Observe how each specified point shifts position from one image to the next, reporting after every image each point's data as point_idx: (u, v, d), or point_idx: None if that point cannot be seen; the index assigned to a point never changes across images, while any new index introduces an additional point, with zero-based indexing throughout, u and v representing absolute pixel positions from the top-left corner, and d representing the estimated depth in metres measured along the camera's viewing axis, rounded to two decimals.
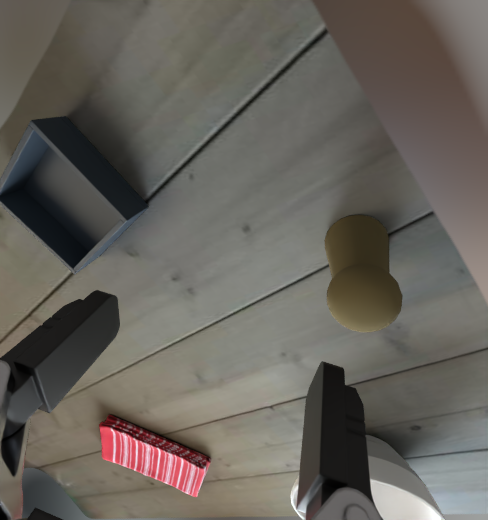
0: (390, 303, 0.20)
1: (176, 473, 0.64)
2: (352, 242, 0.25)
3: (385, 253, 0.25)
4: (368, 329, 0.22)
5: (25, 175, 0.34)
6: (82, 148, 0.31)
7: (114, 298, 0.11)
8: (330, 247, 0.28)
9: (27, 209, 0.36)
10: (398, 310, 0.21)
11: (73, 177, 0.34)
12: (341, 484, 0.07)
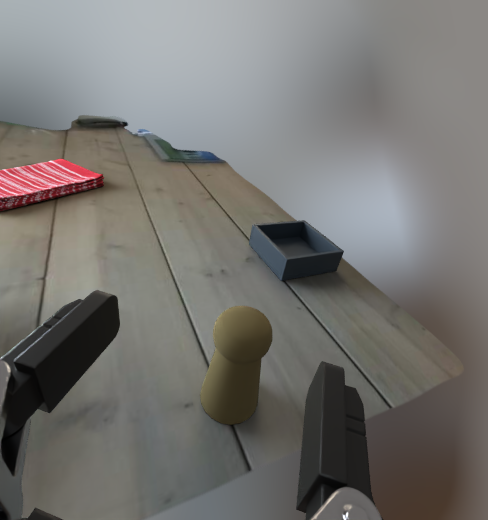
0: (251, 336, 0.24)
1: None
2: None
3: (246, 388, 0.27)
4: (225, 320, 0.25)
5: (309, 239, 0.60)
6: (323, 266, 0.53)
7: (114, 298, 0.11)
8: None
9: (291, 230, 0.61)
10: (240, 343, 0.24)
11: None
12: (342, 484, 0.07)
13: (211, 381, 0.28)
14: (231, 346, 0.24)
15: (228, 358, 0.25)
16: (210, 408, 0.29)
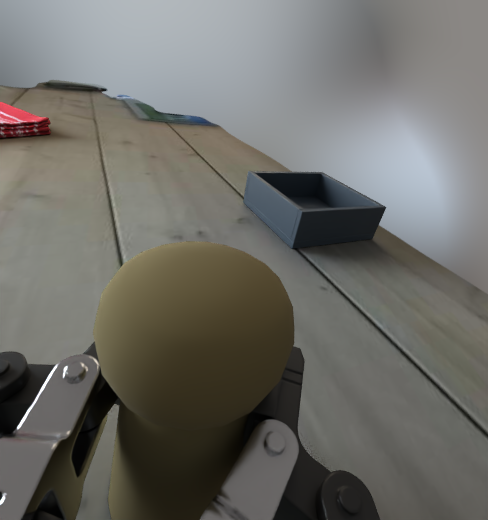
0: (219, 330, 0.06)
1: None
2: None
3: (212, 489, 0.09)
4: (130, 272, 0.07)
5: (329, 197, 0.42)
6: (354, 229, 0.35)
7: None
8: None
9: (304, 184, 0.43)
10: (171, 356, 0.06)
11: None
12: (270, 419, 0.08)
13: (117, 459, 0.10)
14: (135, 369, 0.06)
15: (136, 411, 0.07)
16: None
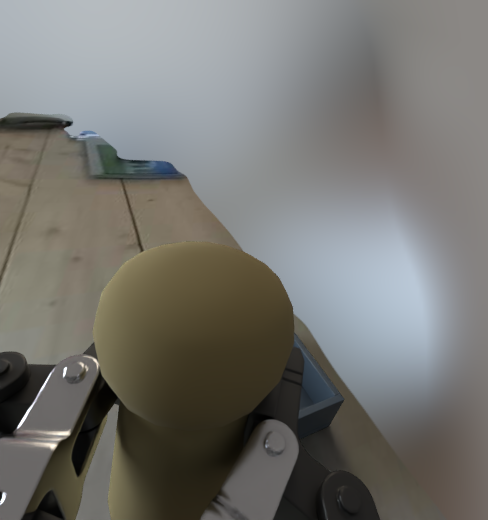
0: (219, 331, 0.06)
1: None
2: None
3: (212, 489, 0.09)
4: (130, 272, 0.07)
5: None
6: (300, 431, 0.25)
7: None
8: None
9: None
10: (171, 357, 0.06)
11: None
12: (270, 419, 0.08)
13: (116, 460, 0.10)
14: (135, 369, 0.06)
15: (135, 411, 0.07)
16: None
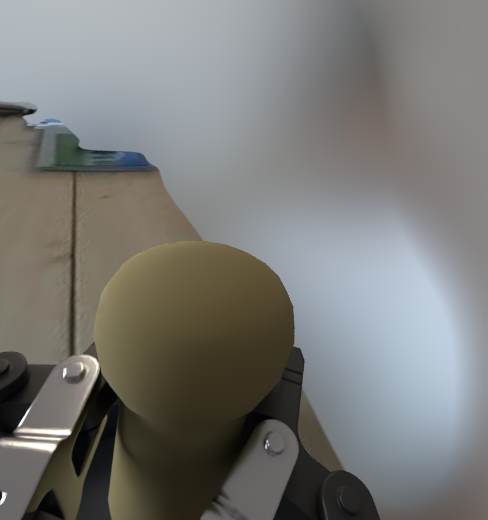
0: (219, 329, 0.06)
1: None
2: None
3: (212, 489, 0.09)
4: (130, 271, 0.07)
5: None
6: None
7: None
8: None
9: None
10: (172, 356, 0.06)
11: None
12: (270, 418, 0.08)
13: (117, 459, 0.10)
14: (136, 368, 0.06)
15: (136, 410, 0.07)
16: None
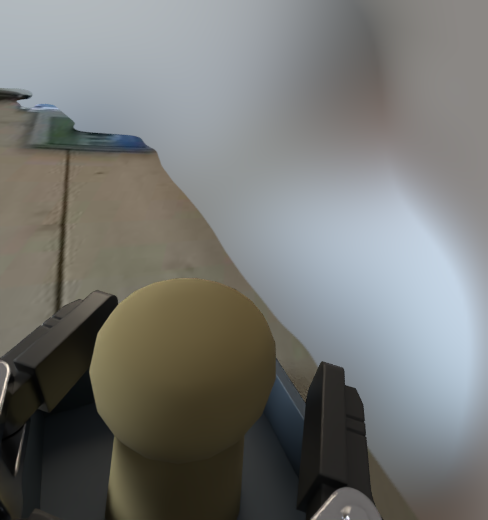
0: (203, 376, 0.07)
1: None
2: (243, 434, 0.12)
3: (201, 510, 0.10)
4: (124, 316, 0.08)
5: None
6: None
7: (114, 298, 0.11)
8: None
9: None
10: (159, 402, 0.06)
11: None
12: (342, 484, 0.07)
13: (112, 480, 0.10)
14: (127, 412, 0.07)
15: (128, 446, 0.07)
16: None
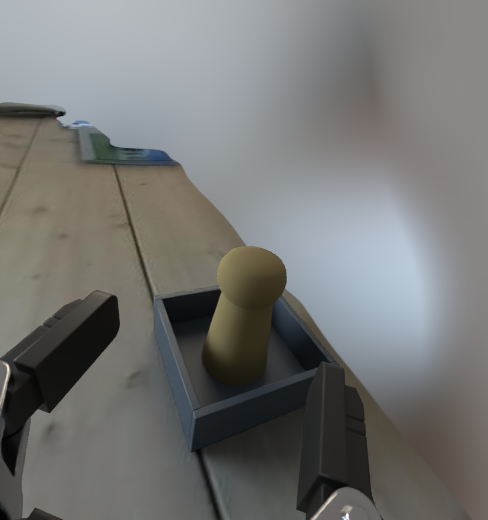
0: (263, 273, 0.20)
1: None
2: None
3: (255, 341, 0.23)
4: (232, 256, 0.21)
5: (274, 317, 0.31)
6: (294, 400, 0.24)
7: (114, 298, 0.11)
8: None
9: None
10: (251, 280, 0.20)
11: None
12: (342, 484, 0.07)
13: (215, 334, 0.24)
14: (239, 284, 0.20)
15: (235, 300, 0.21)
16: (213, 367, 0.25)
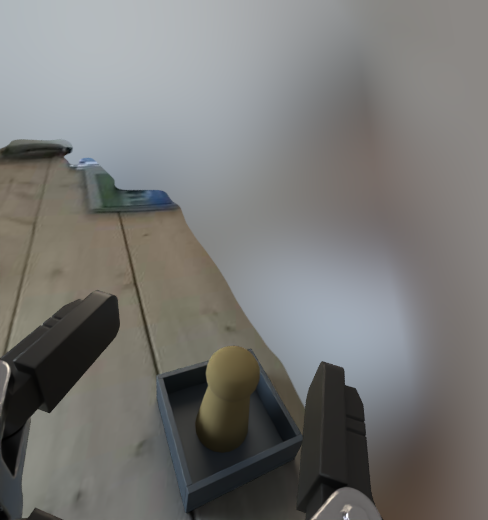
0: (240, 378, 0.27)
1: None
2: None
3: (236, 421, 0.30)
4: (216, 361, 0.28)
5: None
6: (267, 466, 0.30)
7: (114, 298, 0.11)
8: None
9: None
10: (230, 384, 0.26)
11: None
12: (342, 484, 0.07)
13: (205, 414, 0.31)
14: (222, 387, 0.27)
15: (219, 397, 0.27)
16: (204, 437, 0.31)
